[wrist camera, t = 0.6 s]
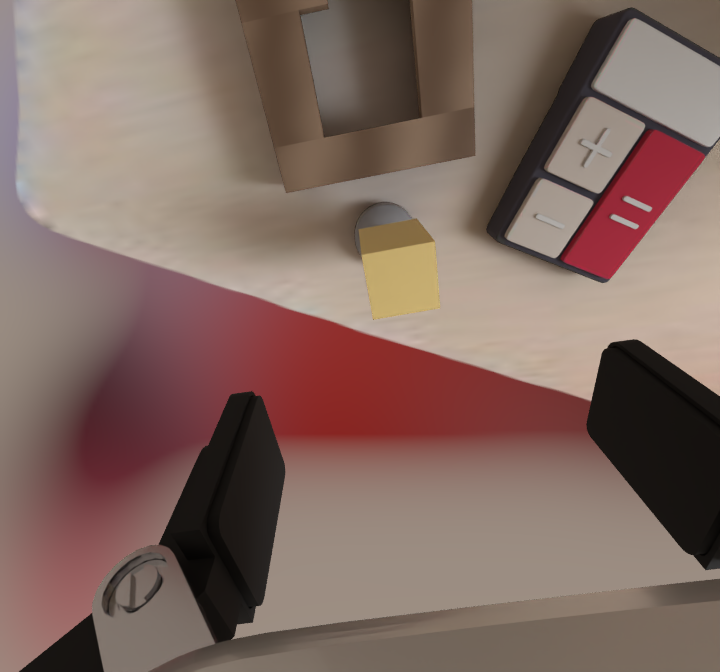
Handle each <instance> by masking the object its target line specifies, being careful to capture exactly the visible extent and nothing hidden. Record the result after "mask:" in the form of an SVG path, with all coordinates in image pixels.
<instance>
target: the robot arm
mask: <svg viewBox="0 0 720 672" xmlns="http://www.w3.org/2000/svg"><path fill="white" fill-rule="evenodd" d="M587 430H588V433H589V435H590V437H591V438H592V439H593V440H594V441H595V443H596V444H597V445H598V446H599V448H600V449H601V450H602V451H603V453H604V454H605V455H606V456H607V458H608V459H609V460H610V461H611V462H612V464H613V465H614V466H615V467H616V469H617V470H618V471H619V472H620V473H621V475H622V476H623V477H624V478H625V480H626V481H627V482H628V483H629V485H630V486H631V487H632V488H633V489H634V491H635V492H636V493H637V494H638V495H639V497H640V498H641V499H642V500H643V502H644V503H645V504H646V505H647V507H648V508H649V509H650V510H651V512H652V513H654V515H655V516H656V518H657V519H658V520H659V521H660V523H661V524H662V525H663V526H664V527H665V529H666V530H667V531H668V532H669V533H670V535H671V536H672V537H673V538H674V540H675V541H676V542H677V543H678V545H679V546H680V547H681V548H682V549H683V550H684V551H685V552H686V553H688V554H691V555H694V557H695V558H696V559H697V560H698V561H699V563H700V564H701V565H702V566H703V568H704V569H705V570H709V569H710V570H711V569H719V568H720V396H718V395H717V394H716V393H714V392H713V391H711V390H710V389H708V388H707V387H706V386H704V385H703V384H701V383H700V382H698V381H697V380H695V379H694V378H693V377H691V376H690V375H688V374H687V373H685V372H684V371H683V370H681V369H680V368H678V367H677V366H675V365H674V364H672V363H671V362H670V361H668V360H667V359H665V358H664V357H662V356H661V355H660V354H658V353H657V352H655V351H654V350H652V349H651V348H650V347H648V346H647V345H645V344H644V343H642V342H641V341H639V340H634V339H633V340H626V341H619V342H613V343H610V345H609V346H608V348H607V349H604V351H603V352H602V356H601V360H600V365H599V369H598V374H597V378H596V383H595V387H594V392H593V396H592V401H591V406H590V410H589V415H588V419H587ZM284 478H285V465H284V461H283V458H282V455H281V452H280V449H279V446H278V443H277V440H276V437H275V434H274V432H273V429H272V425H271V422H270V419H269V417H268V414H267V411H266V408H265V405H264V402H263V399H262V397H261V396H255V394H254V393H253V392H252V391H251V392H244V393H237V394H232V395H230V397H229V399H228V401H227V404H226V406H225V408H224V410H223V413H222V415H221V418H220V420H219V422H218V424H217V427H216V429H215V431H214V434H213V436H212V438H211V441H210V443H209V445H208V446H205V447H204V448H203V449H202V450H201V452H200V454H199V456H198V459H197V461H196V463H195V465H194V467H193V469H192V472H191V474H190V476H189V478H188V480H187V483H186V485H185V487H184V489H183V492H182V494H181V496H180V498H179V500H178V503H177V505H176V507H175V509H174V511H173V514H172V516H171V519H170V520H169V523H168V525H167V527H166V529H165V532H164V534H163V536H162V538H161V540H160V543H159V545H150V546H147V547H144V548H141V549H138V550H136V551H135V552H133V553H131V554H129V555H128V556H126V557H125V558H124V559H122V560H121V561H120V562H119V563H118V564H116V565H115V566H114V567H113V568H112V570H111V571H110V572H109V573H108V574H107V575H106V577H105V578H104V579H103V581H102V583H101V584H100V586H99V588H98V589H97V591H96V594H95V597H94V600H93V605H92V608H93V609H92V613H91V614H90V615H89V616H88V617H86V618H85V619H84V620H83V621H81V622H80V623H79V624H78V625H77V626H75V627H74V628H73V629H72V630H70V631H69V632H68V633H67V634H65V635H64V636H63V637H62V638H60V639H59V640H58V641H57V642H55V643H54V644H53V645H52V646H50V647H49V648H48V649H47V650H45V651H44V652H43V653H42V654H41V655H39V656H38V657H37V658H35V659H34V660H33V661H32V662H31V663H29V664H28V665H27V666H26V667H24V668H23V669H22V670H21V671H19V672H720V579H714V580H705V581H696V582H686V583H677V584H669V585H659V586H649V587H641V588H631V589H623V590H613V591H604V592H595V593H587V594H578V595H569V596H561V597H552V598H543V599H534V600H526V601H517V602H508V603H500V604H491V605H483V606H473V607H465V608H457V609H449V610H440V611H432V612H424V613H415V614H407V615H399V616H390V617H382V618H373V619H365V620H357V621H349V622H341V623H333V624H326V625H319V626H312V627H305V628H298V629H291V630H284V631H277V632H269V633H264V634H258V635H253V636H248V637H243V638H237V639H233V640H231V639H232V638H233V637H234V636H235V631H236V626H237V624H244V623H252V622H253V618H254V613H255V608H256V606H260V605H261V604H262V603H263V600H264V596H265V589H266V584H267V578H268V572H269V566H270V560H271V555H272V548H273V543H274V537H275V531H276V525H277V520H278V513H279V508H280V502H281V496H282V490H283V484H284Z"/></svg>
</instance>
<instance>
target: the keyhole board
mask: <svg viewBox="0 0 720 672" xmlns="http://www.w3.org/2000/svg"><path fill="white" fill-rule="evenodd" d="M236 4H237V7H238V11H239V15H240V19H241V23H242V26H243V30H244V34H245V38H246V42H247V46H248V49H249V53H250V57H251V61H252V65H253V69H254V72H255V76H256V80H257V84H258V88H259V91H260V95H261V99H262V103H263V107H264V111H265V114H266V118H267V122H268V126H269V130H270V134H271V137H272V141H273V145H274V149H275V153H276V156H277V160H278V164H279V168H280V172H281V176H282V179H283V183H284V187H285V191H286V193H288V192H294V191H299V190H304V189H309V188H314V187H319V186H324V185H329V184H334V183H339V182H344V181H349V180H355V179H360V178H365V177H370V176H375V175H380V174H385V173H390V172H395V171H400V170H405V169H410V168H415V167H421V166H426V165H431V164H436V163H441V162H446V161H451V160H456V159H461V158H466V157H471V156H475V119H474V71H473V23H472V0H410V11H411V23H412V35H413V47H414V59H415V71H416V83H417V94H418V106H419V118H418V119H413V120H408V121H404V122H399V123H394V124H389V125H384V126H379V127H374V128H369V129H365V130H360V131H355V132H350V133H345V134H340V135H335V136H330V137H326V138H325V137H324V132H323V127H322V122H321V117H320V112H319V107H318V102H317V97H316V92H315V87H314V82H313V77H312V72H311V66H310V61H309V56H308V51H307V46H306V41H305V36H304V31H303V26H302V21H301V16H300V15H303V14H308V13H312V12H317V11H321V10H326V9H329V7H328V1H327V0H236Z"/></svg>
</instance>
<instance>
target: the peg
mask: <svg viewBox="0 0 720 672" xmlns="http://www.w3.org/2000/svg"><path fill="white" fill-rule="evenodd" d="M355 243H356V247H357V250H358V252H359V254H360V255H361V257H362V261H363V266H364V272H365V277H366V283H367V288H368V294H369V299H370V305H371V311H372V316H373V320H374V319H380V318H386V317H392V316H397V315H403V314H409V313H415V312H421V311H426V310H432V309H438V308H440V300H439V287H438V274H437V262H436V249H435V241H434V240H433V238H432V237H431V236H430V235H429V233H428V232H427V231H426V230H425V228H424V227H423V226H422V225H421V223H420V222H419V221H418V220H417V218H416V219H412V218H411V216H410V215H409V214H408V213H407V211H406V210H405V209H403V208H402V207H401V206H399V205H397V204H394V203H389V202H382V203H377V204H374V205H372V206H370V207H369V208H367V209H366V210H365V211H364V212H363V213H362V214H361V216H360V217H359V219H358V221H357V223H356V227H355Z"/></svg>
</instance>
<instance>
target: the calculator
mask: <svg viewBox="0 0 720 672" xmlns="http://www.w3.org/2000/svg"><path fill="white" fill-rule="evenodd" d="M719 139H720V58H719V57H717V56H715V55H714V54H712V53H710V52H709V51H707V50H705V49H703V48H702V47H700V46H698V45H697V44H695V43H693V42H691V41H690V40H688V39H686V38H685V37H683V36H681V35H680V34H678V33H676V32H674V31H673V30H671V29H669V28H668V27H666V26H664V25H662V24H661V23H659V22H657V21H656V20H654V19H652V18H650V17H649V16H647V15H645V14H644V13H642V12H640V11H638V10H637V9H635V8H628V9H625V10H622V11H619V12H617V13H614V14H611V15H609V16H606V17H603V18H601V19H598V20H597V21H595V23H594V24H593V26H592V28H591V29H590V31H589V33H588V35H587V37H586V39H585V41H584V43H583V45H582V46H581V48H580V50H579V52H578V54H577V56H576V58H575V60H574V62H573V64H572V65H571V67H570V69H569V71H568V73H567V75H566V77H565V79H564V81H563V83H562V85H561V87H560V89H559V92H558V95H557V97H556V99H555V101H554V103H553V104H552V106H551V108H550V110H549V112H548V114H547V115H546V117H545V119H544V121H543V123H542V125H541V126H540V128H539V130H538V132H537V134H536V136H535V137H534V139H533V141H532V143H531V145H530V146H529V148H528V150H527V152H526V154H525V156H524V157H523V159H522V161H521V163H520V165H519V167H518V169H517V170H516V172H515V174H514V176H513V178H512V180H511V182H510V184H509V186H508V187H507V189H506V191H505V193H504V195H503V197H502V199H501V201H500V203H499V205H498V206H497V208H496V210H495V212H494V214H493V216H492V218H491V220H490V222H489V224H488V226H487V228H486V230H487V232H488V233H489V234H490V235H491V236H492V237H493V238H494V239H495V240H496V241H497V242H499V243H501V244H504V245H507V246H509V247H512V248H514V249H517V250H519V251H522V252H524V253H527V254H529V255H532V256H534V257H537V258H540V259H542V260H545V261H547V262H550V263H552V264H555V265H557V266H560V267H562V268H565V269H568V270H570V271H573V272H575V273H578V274H580V275H583V276H585V277H588V278H590V279H593V280H596V281H598V282H601V283H605V282H607V281H609V280H610V278H611V277H612V276H613V275H614V274H615V272H616V271H617V270H618V269H619V267H620V266H621V265H622V263H623V262H624V261H625V260H626V258H627V257H628V256H629V255H630V253H631V252H632V251H633V249H634V248H635V247H636V246H637V244H638V243H639V242H640V240H641V239H642V238H643V237H644V235H645V234H646V233H647V232H648V230H649V229H650V228H651V226H652V225H653V224H654V223H655V221H656V220H657V219H658V217H659V216H660V215H661V214H662V212H663V211H664V210H665V209H666V207H667V206H668V205H669V203H670V202H671V201H672V200H673V198H674V197H675V196H676V194H677V193H678V192H679V191H680V189H681V188H682V187H683V186H684V184H685V183H686V182H687V180H688V179H689V178H690V177H691V175H692V174H693V173H694V171H695V170H696V169H697V168H698V166H699V165H700V164H701V162H702V161H703V160H704V158H705V157H706V156H707V154H708V153H709V152H710V151H711V149H712V148H713V147H714V146H715V144H716V143H717V142H718V140H719Z"/></svg>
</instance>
